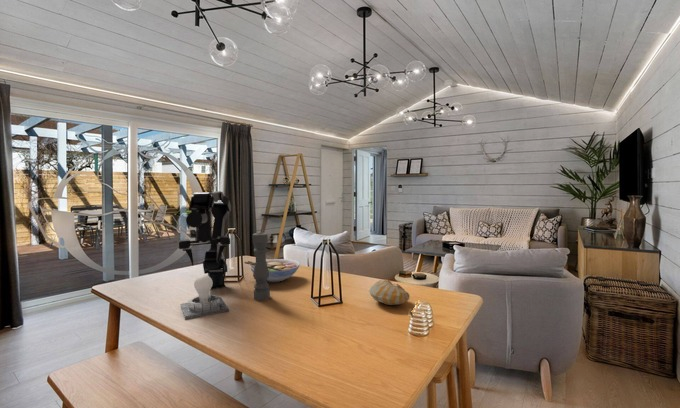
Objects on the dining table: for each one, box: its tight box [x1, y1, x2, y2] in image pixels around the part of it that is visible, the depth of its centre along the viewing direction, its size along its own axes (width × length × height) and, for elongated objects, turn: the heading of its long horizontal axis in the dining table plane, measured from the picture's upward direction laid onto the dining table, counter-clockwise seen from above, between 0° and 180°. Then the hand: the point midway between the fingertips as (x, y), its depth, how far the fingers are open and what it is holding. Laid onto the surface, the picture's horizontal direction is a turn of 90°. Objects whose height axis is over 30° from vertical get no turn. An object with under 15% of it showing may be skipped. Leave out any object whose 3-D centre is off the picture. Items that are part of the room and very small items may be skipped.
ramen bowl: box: [243, 258, 301, 283], centre depth 157 cm, size 25×23×8 cm
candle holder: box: [252, 232, 271, 302], centre depth 132 cm, size 6×6×25 cm
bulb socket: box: [180, 294, 230, 320], centre depth 122 cm, size 14×14×4 cm
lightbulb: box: [193, 274, 213, 303], centre depth 122 cm, size 6×6×11 cm
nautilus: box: [368, 277, 411, 306], centre depth 128 cm, size 8×22×15 cm
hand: (205, 263), depth 135 cm, fingers open, 9 cm apart
